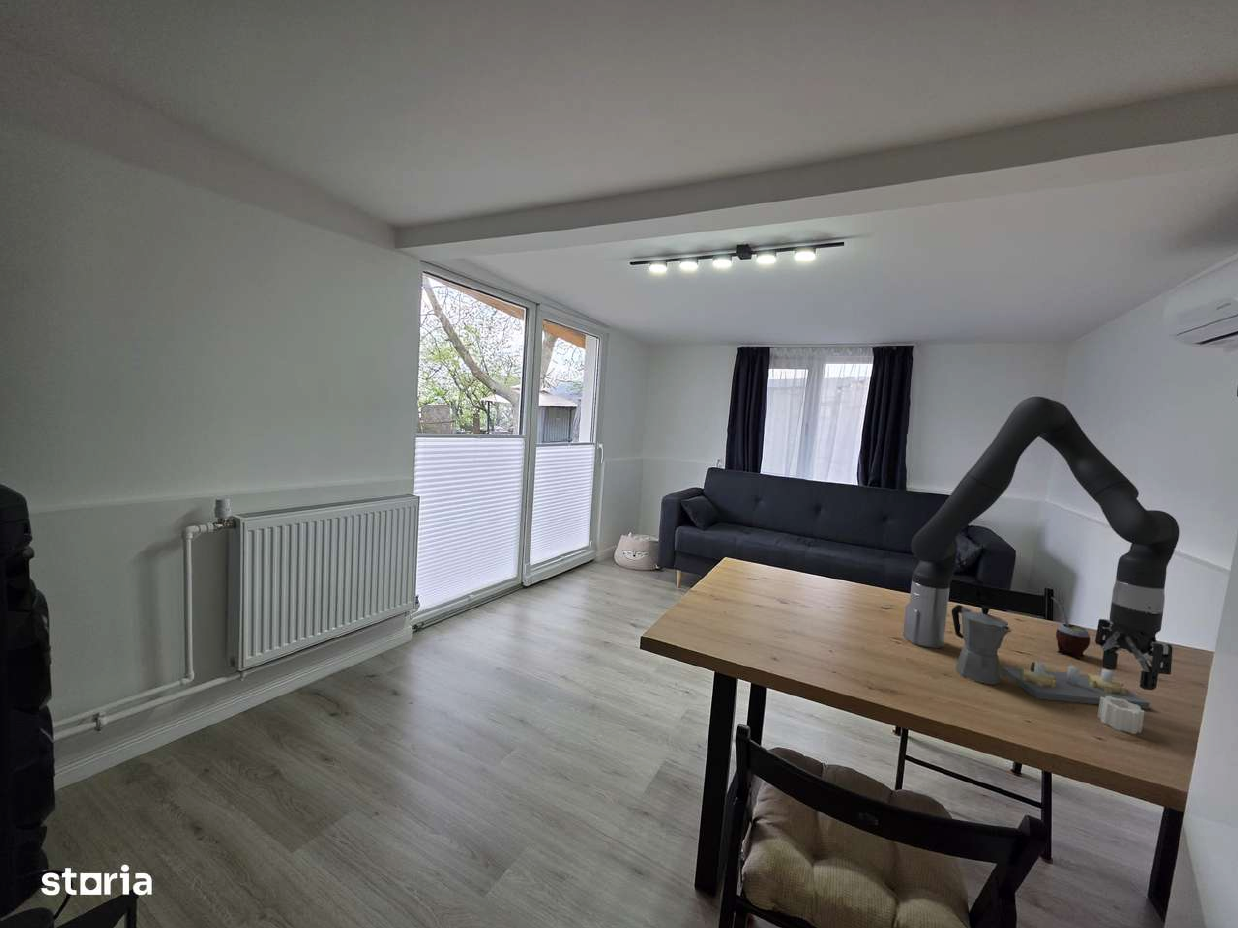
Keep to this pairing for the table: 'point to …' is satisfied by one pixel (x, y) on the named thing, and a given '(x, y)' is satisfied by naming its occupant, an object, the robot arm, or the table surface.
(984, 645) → the coffeepot
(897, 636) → the table surface
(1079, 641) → the mate gourd
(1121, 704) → the ivory gear
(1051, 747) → the table surface
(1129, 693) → the gear board
